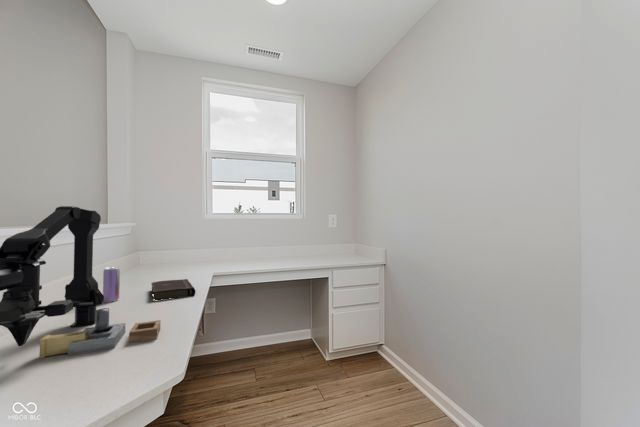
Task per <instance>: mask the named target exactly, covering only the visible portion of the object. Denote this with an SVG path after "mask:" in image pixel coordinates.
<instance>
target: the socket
mask: <svg viewBox="0 0 640 427" xmlns="http://www.w3.org/2000/svg"><path fill="white" fill-rule="evenodd" d="M82 331H88V340H84V341H77V342H70V343H69V350H68V353H67V354H68V356H72V355H73V356H74V355H79V354H80V355H81V354H85V353H92V352H97V351H105V350H112V349H115V348H116V347H117V345H118V343H119V342H120V341H121V339H123V337H124V335H125V333H126V322H120V323H114V324H109V332H102V333H95V326H91V327H85V328H84V330H82Z"/></svg>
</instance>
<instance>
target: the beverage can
mask: <svg viewBox="0 0 640 427" xmlns="http://www.w3.org/2000/svg"><path fill="white" fill-rule="evenodd" d="M102 276H103V277H102V279H103V280H102V294H103V296H104V301H103V303H105V302H109V303H113V302H112V301H115V302H117V301H116V300H118V301H119V299H120V285H121V284H120V281H121V278H120V277H121V268H120V267H119V266H110V267H104V269H103V274H102Z"/></svg>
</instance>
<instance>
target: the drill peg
mask: <svg viewBox="0 0 640 427" xmlns="http://www.w3.org/2000/svg"><path fill="white" fill-rule="evenodd" d="M94 325H95V326H94V327H95V333H102V332H109V325H110V308H107V307H105V308H99V309H96V316H95V323H94Z"/></svg>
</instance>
